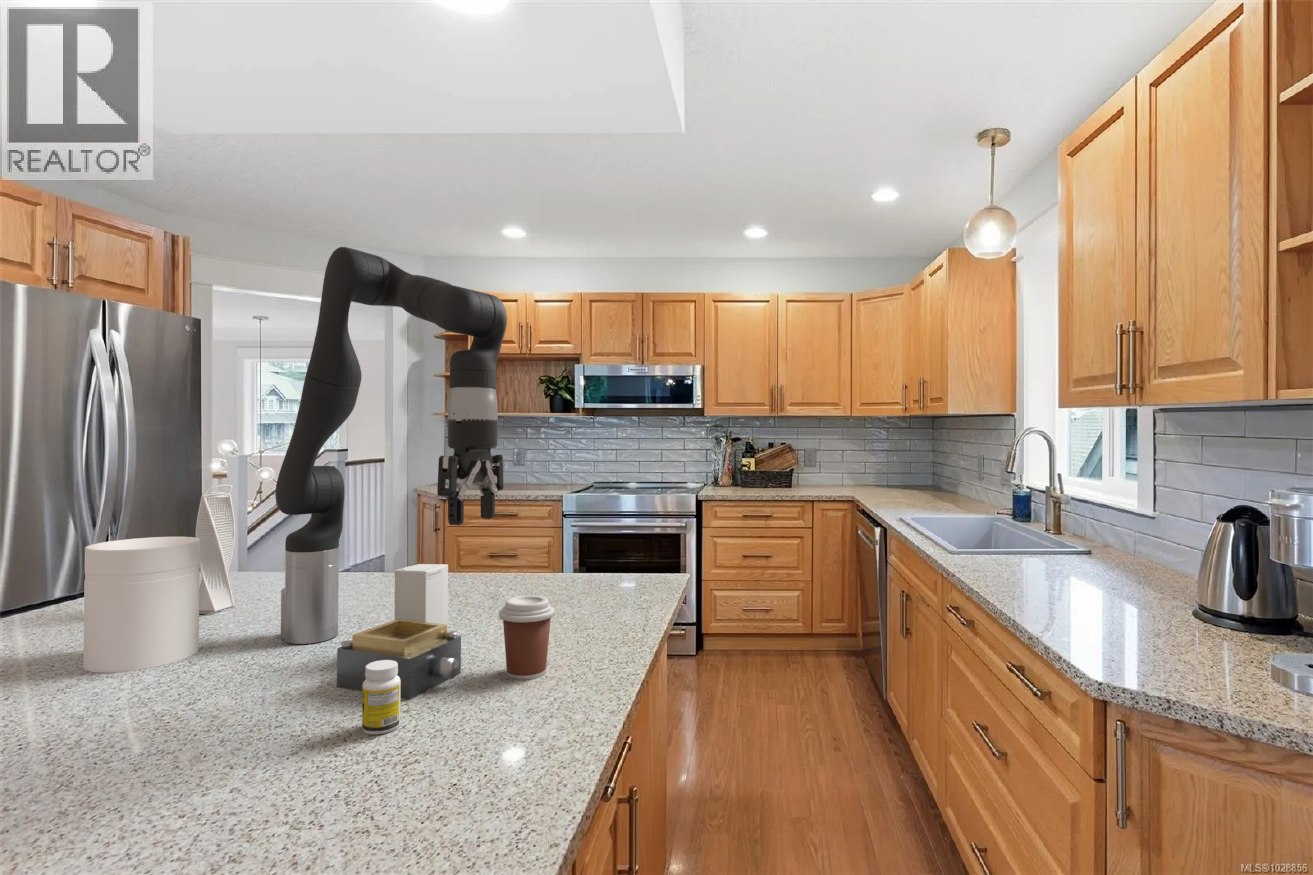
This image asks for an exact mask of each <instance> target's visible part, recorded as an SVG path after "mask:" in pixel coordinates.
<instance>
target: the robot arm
mask: <svg viewBox="0 0 1313 875" xmlns="http://www.w3.org/2000/svg"><path fill="white" fill-rule="evenodd" d="M323 277H324V278H323V284H322V291H321V299H320V305H319V306H320V307H319V314H318V320H317V321H318V322H317V326H316V327H317V328H316V332H315V336H314V342H313V346H312V351H311V354H310V358H309V363H308V366H307V369H306V373H305V378H304V382H303V387H302V391H301V396H300V402H299V406H298V410H297V415H296V419H295V422H294V423H295V424H294V427H293V431H292V434H291V437H290V440H289V444H288V446H287V450H286V453H285V455H284V458H283V461H282V463H281V467H280V470H279V472H278V473H279V474H278V477H277V480H276V485H275V502H276V503H275V504H276V507H277V508H278V509H279V511H280V512H281V513H282V514H285V515H288V516H298V515H311V516H310V519H309V520H308V521H307V523H306V524H304V525H303V526H302V527H300V528H299V529H296V530H294V531H293V532H291V533H289V534H287V535H286V537H285V544H284V545H285V546H284V547H285V548H284V550H285V558H284V559H285V561H284V562H285V563H284V564H285V565H284V567H285V568H284V571H285V572H284V575H285V576H284V578H285V579H284V588H282V589H281V591H280V639H282V640H284V642H285V643H288V644H295V645H303V644H314V643H315V644H316V643H319V642H320V643H321V642H325V641H328V640H331V639H334V638H336V637H337V636H338V634H339V589H340V588H339V585H340V584H339V581H340V580H339V577H340V575H339V572H340V571H339V570H340V565H339V564H340V560H339V559H340V557H339V556H340V553H339V552H340V549H339V546H340V538H341V536H342V532H343V523H344V522H343V521H344V509H345V508H344V506H345V494H346V493H345V492H346V490H345V481H344V478H343V475H342V473H341V472H340V470H339V469H338V468H337V467H335V466H332V465H315V463H316V460H317V458H318V455H319V453H320V451H321V449H322V448H323V446H324V445H325V443H326V442H327V441H328V440H329V439H330V438H331V437H332V435H333V434H334V433H335V432H336V431H338V429H339V428H341V426H342V425H343V424H344V423H345V422H346V421H347V419H348V418H349V417H350V415H351V414H352V412H353V411H354V409H355V406H356V403H357V399H358V394H359V391H360V388H361V383H362V376H363V375H362V370H361V365H360V362H359V360H358V356H357V353H356V351H355V349H354V346H353V343H352V340H351V337H350V333H349V332H350V331H349V315H350V314H349V313H350V308H351V304H352V302H353V303H357V304H362V305H365V306H366V305H367V306H374V307H375V306H378V307H381V306H382V307H383V306H384V307H398V308H402V309H403V310H404V311H405V312H406V313H408V314H410V315H412V316H413V317H415V318H418V319H421V320H423V321H427V322H429V323H432V324H435V325H436V326H438V327H439V328H440V329H443V330H445V331H447V332H451V333H453V334H457V335H458V334H459V335H464V336H470V337H472V341H471V345H470V346H469V349H464V350H463V349H462V350H458V351H455V352H454V353H452V354H451V357H450V360H449V393H448V399H447V446H448V448H450V449H453V454H452V455H440V456H439V457H438V466H437V467H438V468H437V469H438V471H437V489H436V490H437V492H436V493H437V496H438V497H442V498H443V497H444V498H445V499H446V500H447V522H448V524H449V525H451V526H461V525H463V524H464V516H465V515H464V513H465V512H464V509H465V508H464V506H465V504H464V503H465V501H464V496H465V493H466V491H467V489H470V488H471V487H472V484H474V485H475V486H477V487H478V489H479V492H480V494H481V495H480V518H481V519H484V520H485V519H486V520H491V519H494V518H495V515H496V512H495V511H496V495H498V492H500V491H503V490H504V487H505V486H504V459H503V458H504V456H503V454H495V453H494V454H492V452H491V449H495V448H497V447H498V419H499V418H498V416H499V414H498V409H499V408H498V407H499V406H498V396H497V363H498V359H499V356H500V352H501V347H502V344H503V341H504V337H505V333H506V330H507V324H508V315H507V314H508V313H507V310H506V307H505V304H504V303H503V301H502V300H501V299H500V298H499V297H497V296H496V295H493V294H490V293H485V292H482V291H477V290H473V289H470V288H465V287H463V286H462V287H461V286H457V285H452V284H451V283H448V282H446V281H443V280H441V279H440V280H439V279H436V278H433V277H430V276H425V275H419V274H411V273H409V272H407V271H405V270H403V269H402V268H400V267H399V266H397V265H395V264H394V263H393V262H390V261H389V260H387V259H385V258H383V257H382V256H379V255H376V254H373V253H369V252H365V251H361V250H359V249H355V248H351V247H349V246H340V247H337V248H335V250H334V251H333V252H332V253H331V255H330V257H329V258H328V260H327V264H326V266H325V272H324V276H323ZM446 480H447V483H448V487H446ZM457 489H458V490H457Z"/></svg>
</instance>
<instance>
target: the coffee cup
mask: <svg viewBox="0 0 1313 875" xmlns="http://www.w3.org/2000/svg"><path fill="white" fill-rule="evenodd" d="M504 602H505V605H504V606H503V607H502V608H501V609H500V610H499V611H498V617H499V619H500V620H502V624H503V636H504V637H503V638H504V649H505V664H506V666H505V667H506V676H507V677H508V678H509V679H512V680H521V681H527V680H534V679H538V678H541V677H543V676H544V675H545V674H547V662H548V651H549V641H550V629H551V619H552V618H553V617H554V616H555V614H556V612H555V608H554V606H551V604H550V603H549V599H548V598H547V597H545V596H542V595H541V596H540V595H532V594H531V595H518V596H513V597H510V598H507V599H506V600H505V601H504Z"/></svg>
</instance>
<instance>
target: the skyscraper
mask: <svg viewBox="0 0 1313 875" xmlns="http://www.w3.org/2000/svg"><path fill="white" fill-rule="evenodd" d="M224 487H225V488H229V489H228V492H223V491H213V492H209V491H212V490H214V489H216V488H217V489H218V488H224ZM233 488H234V486H233V485H231V484H218V485H217V484H216V485H213V486H211V487H209V488H207V489H206V490H205V491H204V492H203V493H202V495H201V497H200V501H199V507H198V512H197V517H196V522H195V524H196V525H195V538H199V539H200V563H199V570H200V577H201V580H200V583H199V614H212V615H215V614H217V613H216V612H218V613H220V612H219V611H221V610H224V609H228V610H230V609H229V608H231V609H233V608H232V607H234V608H235V601H234V596H233V592H232V587H231V583H230V578H229V571H230V566H231V563H232V560H233V555H234V549H235V544H236V518H235V511H234V505H233V504H234V503H233V500H232V494H231V493H232V491H233ZM221 612H222V611H221ZM214 613H215V614H214Z"/></svg>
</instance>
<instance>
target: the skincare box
mask: <svg viewBox="0 0 1313 875" xmlns="http://www.w3.org/2000/svg"><path fill="white" fill-rule="evenodd" d="M393 573H394V620H396V619H404V620H412V621H420V622H429V623H437V624H445V625H447V633H448V632H449V564H445V563H443V564H441V563H440V564H437V563H436V564H435V563H418V564H414V565H408V566H405V567H402V568H398V569H397V568H396V569H395V570H394V572H393Z"/></svg>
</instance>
